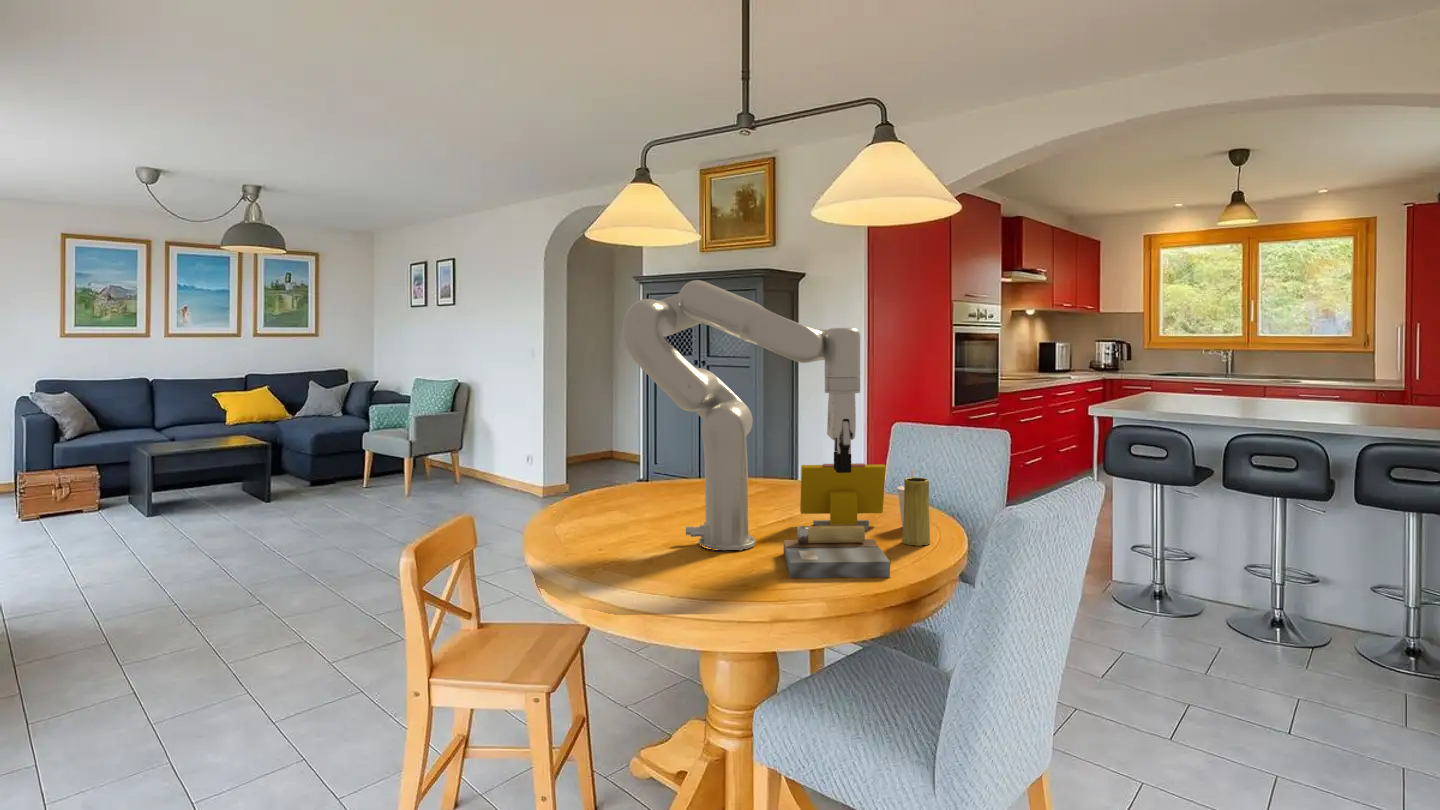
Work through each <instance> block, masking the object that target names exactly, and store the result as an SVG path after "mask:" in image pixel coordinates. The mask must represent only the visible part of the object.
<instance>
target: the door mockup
mask: <svg viewBox="0 0 1440 810" xmlns="http://www.w3.org/2000/svg"><path fill="white" fill-rule="evenodd" d="M783 556H784V560H785V565H786V568H787V571H788V575H790V576H789V579H817V578H818V579H822V578H823V579H827V578H828V579H831V578H832V579H833V578H834V579H835V578H836V579H837V578H839V579H840V577H854V578H891V561H890V560H889V558H888V557H887V555H886V554H885V553H884V552H883V550H882V549H881V548H880V546H879V545H878V543H877V542H876V541H875V539H874V538H867V539H866V538H865V542H838V543H799V542H798V539H783Z"/></svg>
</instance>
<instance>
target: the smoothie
mask: <svg viewBox="0 0 1440 810" xmlns="http://www.w3.org/2000/svg"><path fill="white" fill-rule="evenodd" d="M910 478H914V470H913V469H912V470H911V471H910ZM896 492H897V495H898V502H899V512H900V518H901V528H902V527H903V518H904V485H900V486H897V487H896Z"/></svg>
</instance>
